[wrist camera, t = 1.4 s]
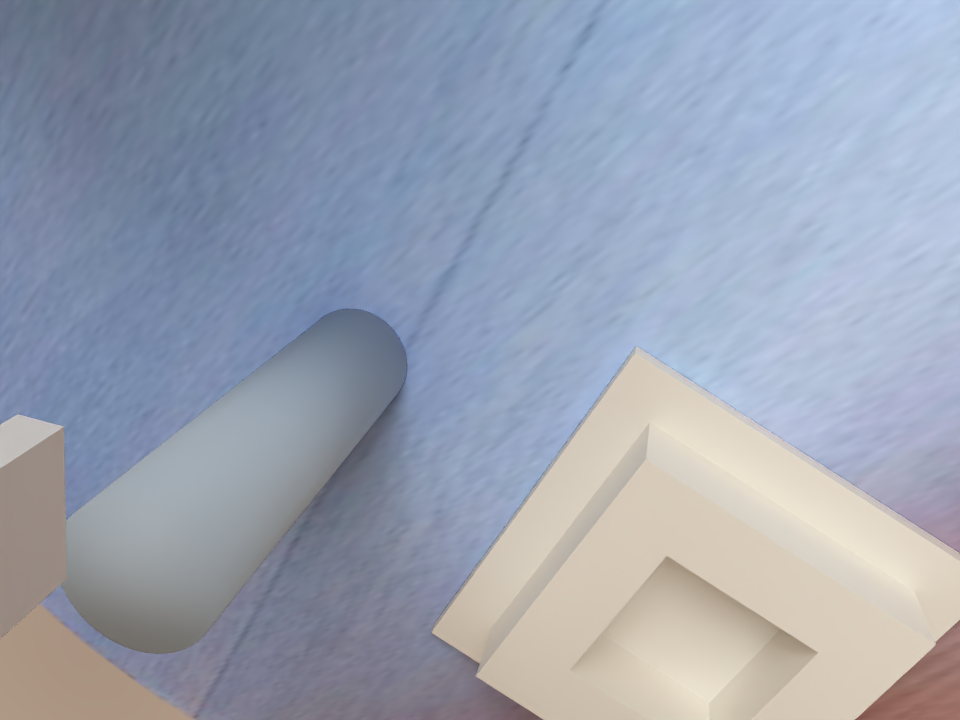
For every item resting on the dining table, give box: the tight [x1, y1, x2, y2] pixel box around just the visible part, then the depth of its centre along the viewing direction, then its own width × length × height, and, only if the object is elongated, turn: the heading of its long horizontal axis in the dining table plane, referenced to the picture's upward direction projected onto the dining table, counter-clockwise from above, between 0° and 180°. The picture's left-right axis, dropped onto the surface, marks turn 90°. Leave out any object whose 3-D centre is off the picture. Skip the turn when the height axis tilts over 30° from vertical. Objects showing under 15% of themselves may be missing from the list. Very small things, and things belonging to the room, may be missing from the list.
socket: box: [431, 346, 960, 720], centre depth 35 cm, size 16×16×4 cm
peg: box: [61, 309, 407, 654], centre depth 29 cm, size 4×4×16 cm
